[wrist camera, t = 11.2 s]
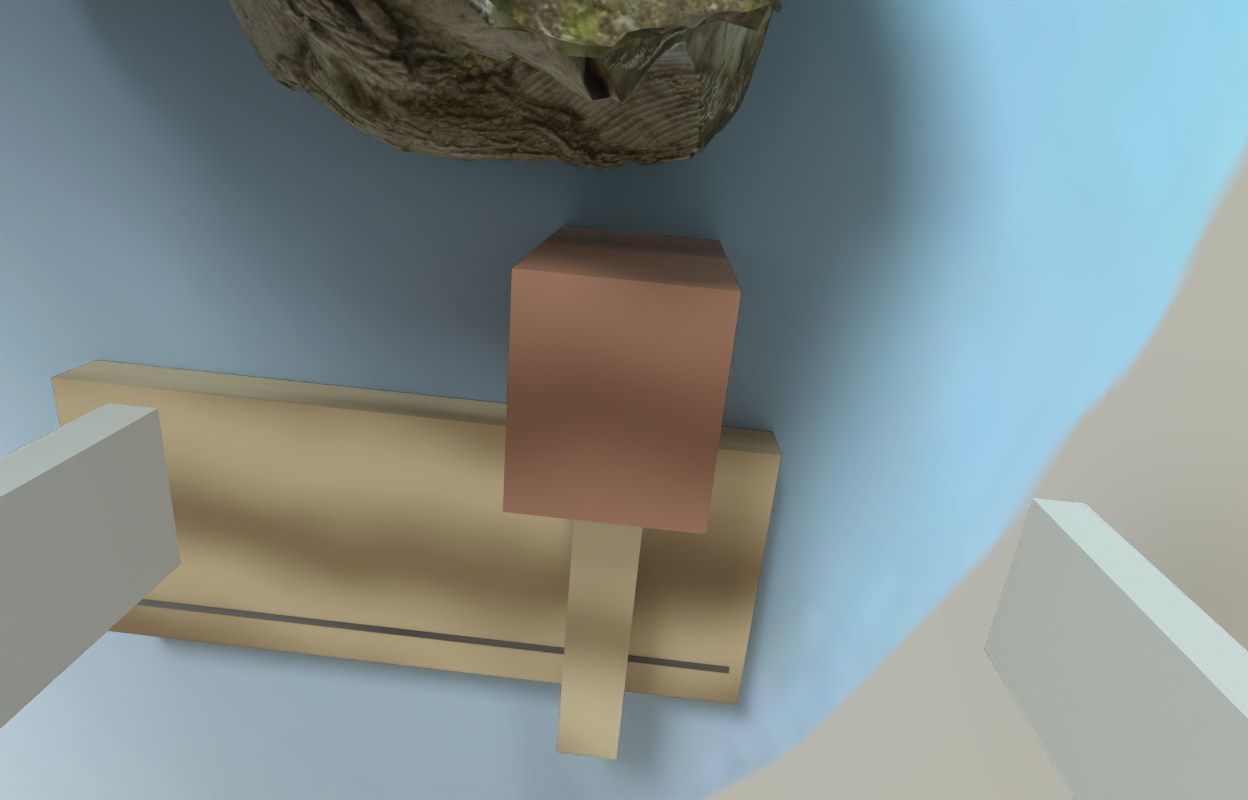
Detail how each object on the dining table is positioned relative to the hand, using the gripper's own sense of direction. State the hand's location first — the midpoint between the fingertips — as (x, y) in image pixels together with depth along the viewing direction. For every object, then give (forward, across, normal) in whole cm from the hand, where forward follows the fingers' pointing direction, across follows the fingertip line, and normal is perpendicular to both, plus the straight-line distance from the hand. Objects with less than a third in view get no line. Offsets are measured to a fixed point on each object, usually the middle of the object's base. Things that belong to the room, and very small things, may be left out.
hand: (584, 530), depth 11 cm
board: (+14, -7, -9) cm, 18 cm away
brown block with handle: (+14, 0, -6) cm, 15 cm away
